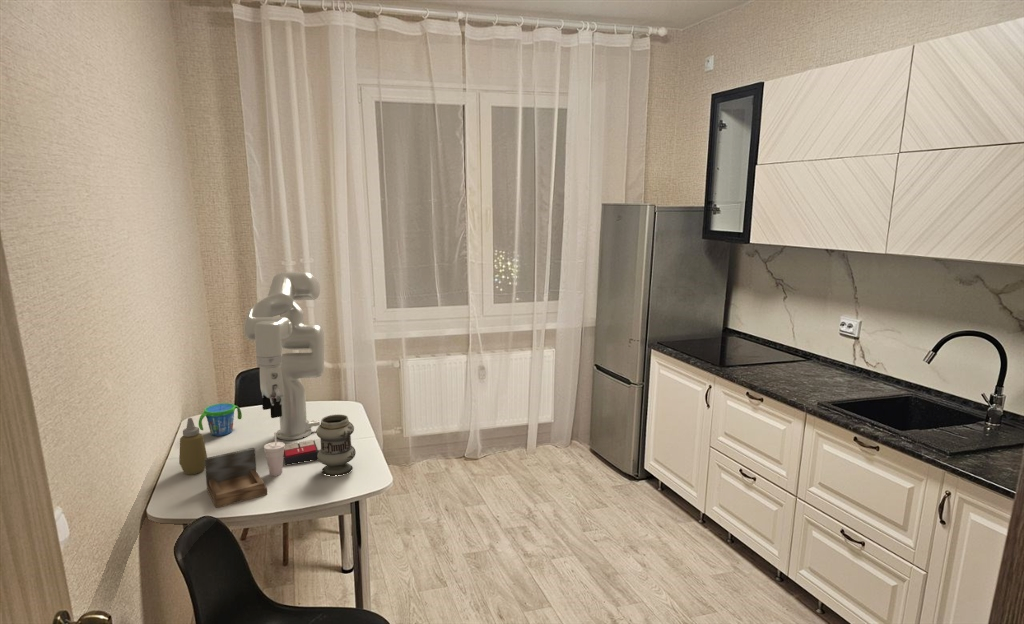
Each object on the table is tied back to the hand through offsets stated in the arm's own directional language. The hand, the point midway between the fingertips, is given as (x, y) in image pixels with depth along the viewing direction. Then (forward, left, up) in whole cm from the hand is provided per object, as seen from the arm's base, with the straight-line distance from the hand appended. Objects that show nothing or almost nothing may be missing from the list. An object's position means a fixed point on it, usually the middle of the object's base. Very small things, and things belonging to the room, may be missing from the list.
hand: (272, 412), depth 185 cm
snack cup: (+7, -48, -21) cm, 53 cm away
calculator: (-13, -9, -21) cm, 27 cm away
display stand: (+13, +6, -21) cm, 25 cm away
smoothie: (0, 0, -21) cm, 21 cm away
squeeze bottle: (+21, -17, -21) cm, 34 cm away
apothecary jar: (-17, +9, -21) cm, 28 cm away
